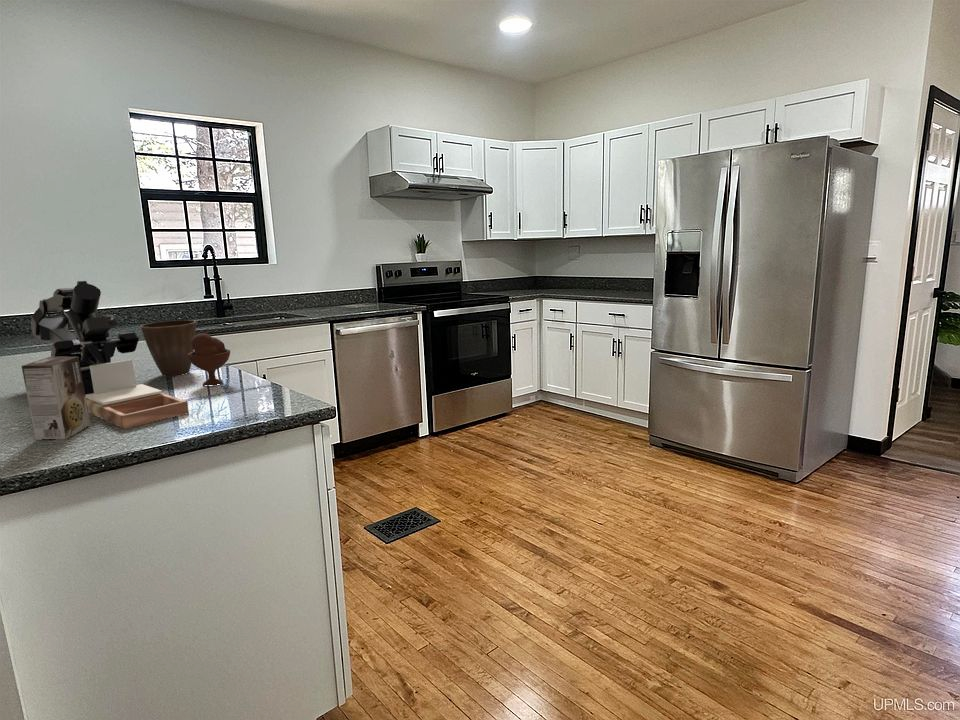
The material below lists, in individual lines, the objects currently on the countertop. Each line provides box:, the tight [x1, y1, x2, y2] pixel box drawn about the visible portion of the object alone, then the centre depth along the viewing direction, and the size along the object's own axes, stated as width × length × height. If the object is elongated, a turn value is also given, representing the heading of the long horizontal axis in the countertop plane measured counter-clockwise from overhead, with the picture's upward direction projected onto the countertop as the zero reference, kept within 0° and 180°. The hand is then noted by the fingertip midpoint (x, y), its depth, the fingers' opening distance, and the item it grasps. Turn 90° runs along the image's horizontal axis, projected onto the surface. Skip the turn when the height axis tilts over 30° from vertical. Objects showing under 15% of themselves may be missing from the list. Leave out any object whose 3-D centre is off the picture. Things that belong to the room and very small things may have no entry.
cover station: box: [86, 392, 190, 430], centre depth 136 cm, size 24×14×3 cm, turn 52°
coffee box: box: [20, 356, 92, 441], centre depth 121 cm, size 9×6×16 cm
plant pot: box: [140, 319, 197, 377], centre depth 175 cm, size 15×15×16 cm
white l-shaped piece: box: [85, 358, 163, 405], centre depth 139 cm, size 12×13×8 cm
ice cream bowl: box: [187, 333, 231, 385], centre depth 161 cm, size 11×11×15 cm
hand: (108, 372), depth 143 cm, fingers closed
